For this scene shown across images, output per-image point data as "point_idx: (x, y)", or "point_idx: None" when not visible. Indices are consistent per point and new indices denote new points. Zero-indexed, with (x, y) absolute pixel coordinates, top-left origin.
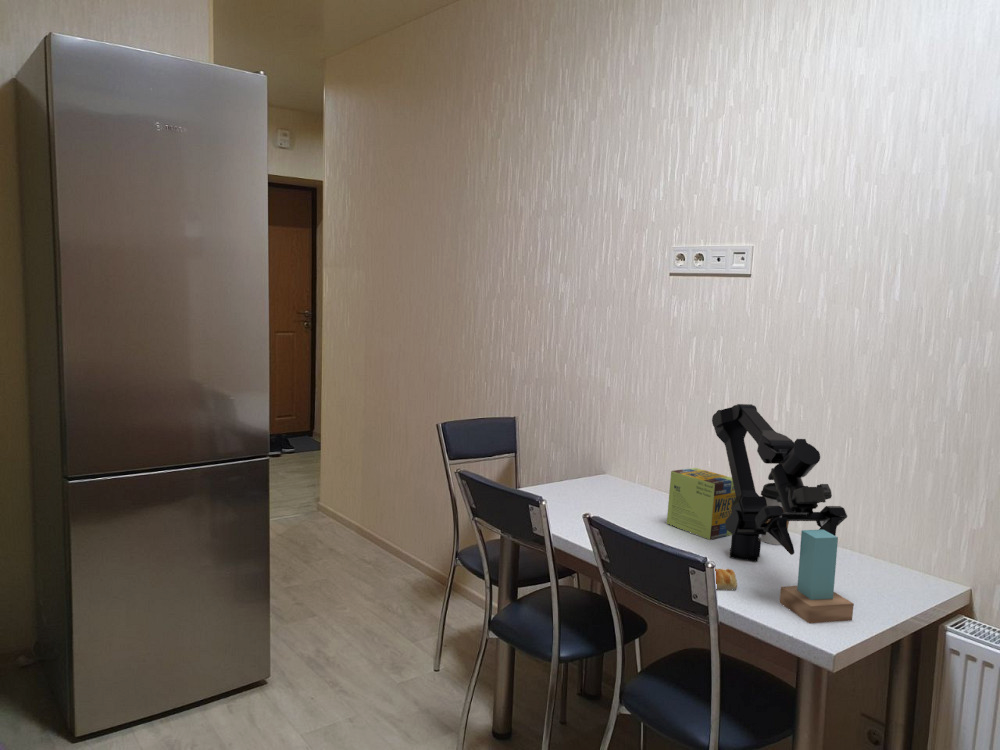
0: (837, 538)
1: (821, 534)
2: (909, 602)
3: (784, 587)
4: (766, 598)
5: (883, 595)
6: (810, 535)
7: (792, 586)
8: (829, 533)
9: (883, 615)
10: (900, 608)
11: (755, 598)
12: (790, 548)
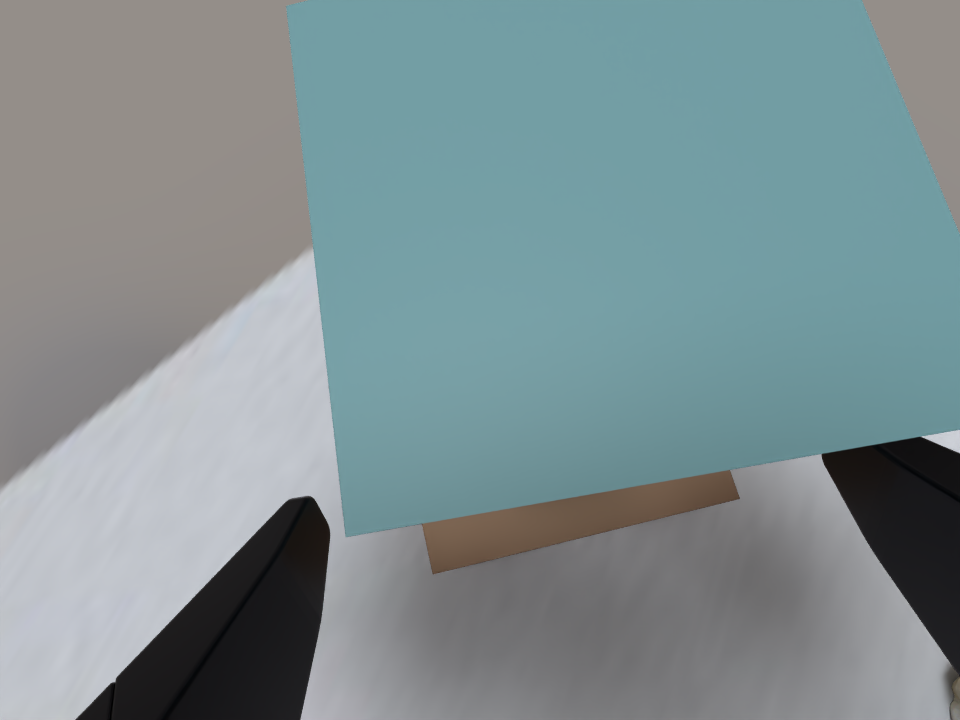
0: (306, 20)
1: (570, 133)
2: (2, 570)
3: (717, 487)
4: (768, 547)
5: (72, 656)
6: (872, 42)
7: (653, 512)
8: (340, 230)
9: (222, 394)
10: (93, 488)
11: (840, 540)
12: (919, 441)
